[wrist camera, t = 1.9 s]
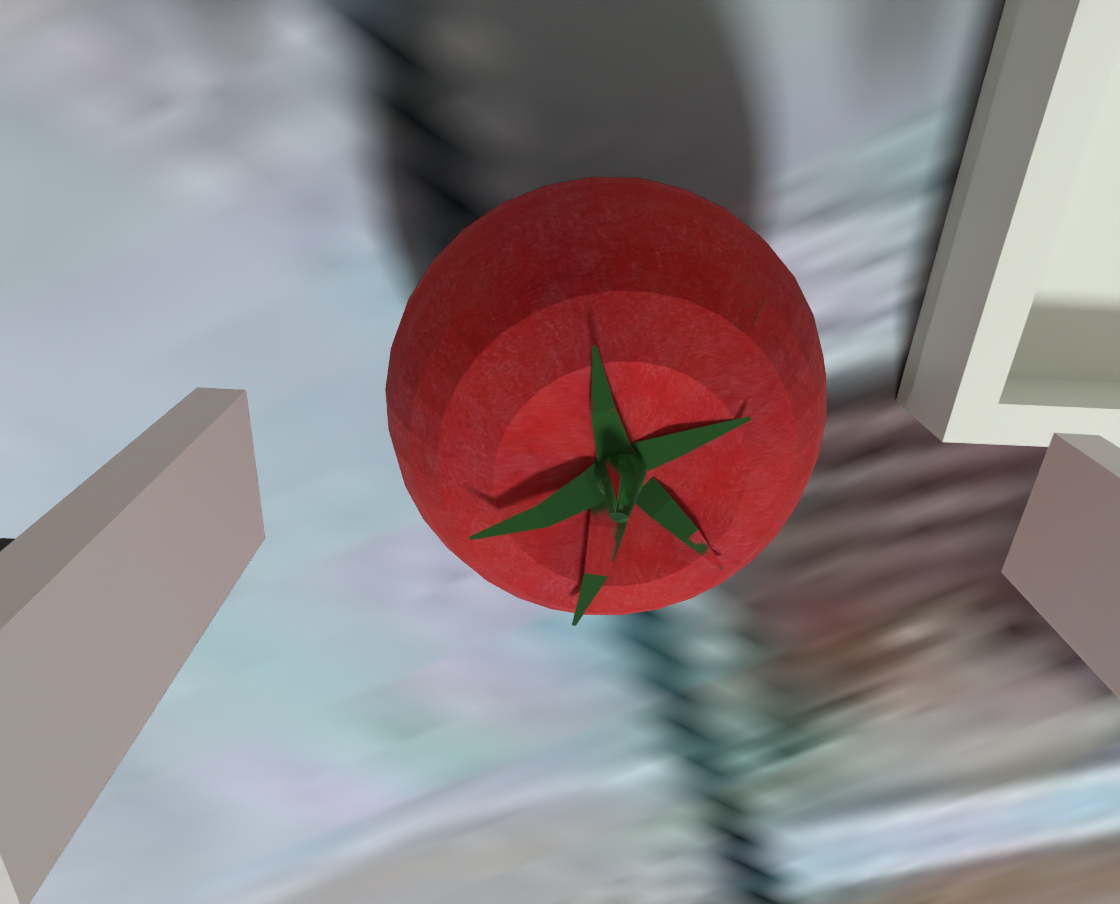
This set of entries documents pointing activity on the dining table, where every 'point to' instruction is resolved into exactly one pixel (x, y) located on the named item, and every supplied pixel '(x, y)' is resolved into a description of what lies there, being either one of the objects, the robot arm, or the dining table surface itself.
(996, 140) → the tray
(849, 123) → the dining table surface
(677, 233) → the tomato
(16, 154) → the dining table surface
